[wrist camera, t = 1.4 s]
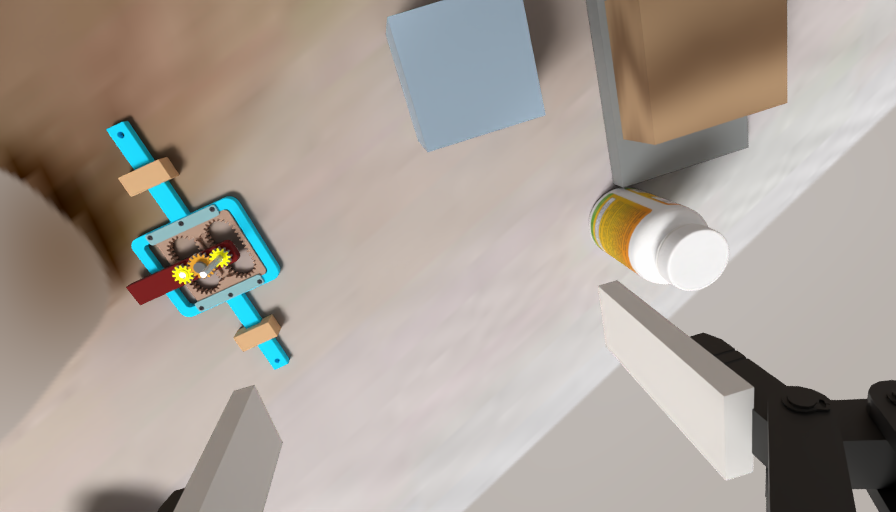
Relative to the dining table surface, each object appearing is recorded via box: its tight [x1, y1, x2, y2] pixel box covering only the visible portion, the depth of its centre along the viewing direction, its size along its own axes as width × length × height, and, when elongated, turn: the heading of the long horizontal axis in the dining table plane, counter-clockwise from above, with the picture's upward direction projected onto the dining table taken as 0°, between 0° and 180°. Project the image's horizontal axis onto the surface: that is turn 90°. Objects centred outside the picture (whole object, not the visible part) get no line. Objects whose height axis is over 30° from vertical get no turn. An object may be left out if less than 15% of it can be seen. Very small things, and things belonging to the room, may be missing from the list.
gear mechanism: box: [106, 121, 290, 370], centre depth 30 cm, size 20×5×9 cm
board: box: [586, 0, 748, 188], centre depth 31 cm, size 16×10×2 cm, turn 16°
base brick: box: [604, 0, 787, 145], centre depth 29 cm, size 9×9×4 cm
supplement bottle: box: [589, 187, 729, 291], centre depth 31 cm, size 5×5×10 cm
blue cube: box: [386, 0, 545, 152], centre depth 27 cm, size 7×7×7 cm
